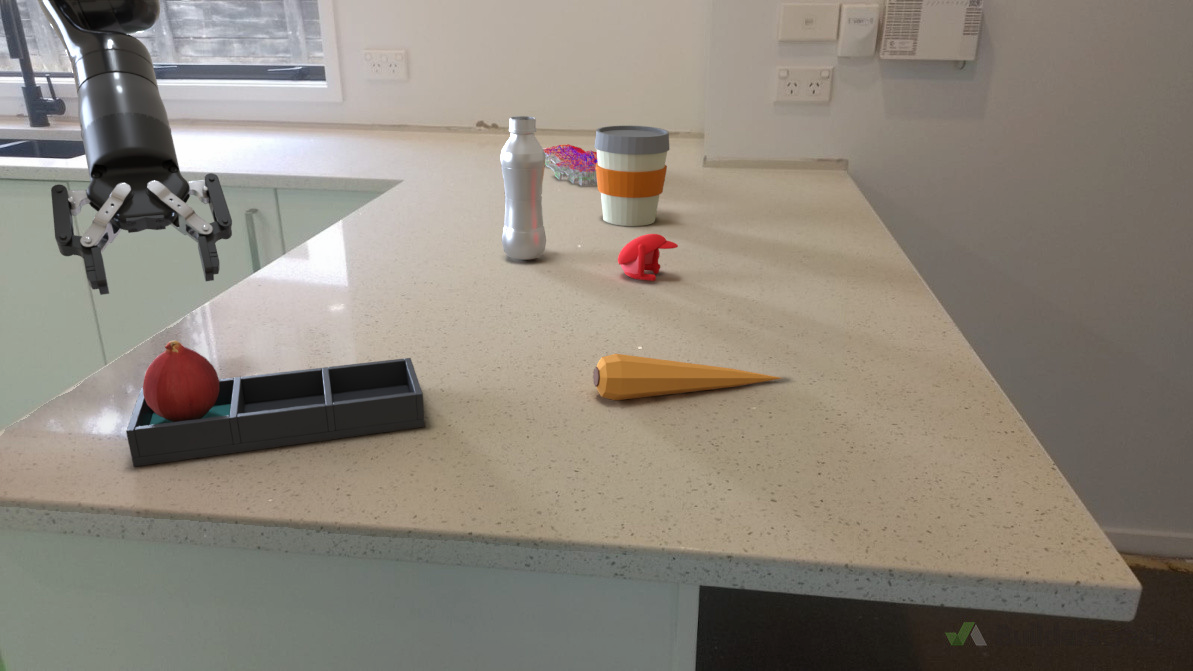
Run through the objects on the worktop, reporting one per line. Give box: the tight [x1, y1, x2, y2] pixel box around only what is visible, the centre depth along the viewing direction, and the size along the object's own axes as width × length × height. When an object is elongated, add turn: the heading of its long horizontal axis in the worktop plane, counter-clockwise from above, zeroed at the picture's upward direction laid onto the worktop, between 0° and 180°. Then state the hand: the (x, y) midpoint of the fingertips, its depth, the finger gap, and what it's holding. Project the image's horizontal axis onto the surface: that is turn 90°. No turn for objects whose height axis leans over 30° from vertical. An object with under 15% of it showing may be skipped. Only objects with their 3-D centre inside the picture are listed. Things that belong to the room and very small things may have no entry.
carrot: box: [592, 353, 783, 401], centre depth 83 cm, size 20×4×4 cm, turn 104°
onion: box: [142, 339, 220, 422], centre depth 71 cm, size 6×6×8 cm
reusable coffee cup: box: [594, 125, 671, 227], centre depth 142 cm, size 13×13×15 cm
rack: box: [125, 357, 426, 467], centre depth 74 cm, size 23×8×3 cm, turn 109°
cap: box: [617, 233, 679, 282], centre depth 115 cm, size 8×6×6 cm
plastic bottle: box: [499, 115, 547, 261], centre depth 119 cm, size 6×7×20 cm
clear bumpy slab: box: [542, 143, 598, 187], centre depth 180 cm, size 30×15×5 cm, turn 15°
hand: (158, 283), depth 75 cm, fingers open, 8 cm apart
